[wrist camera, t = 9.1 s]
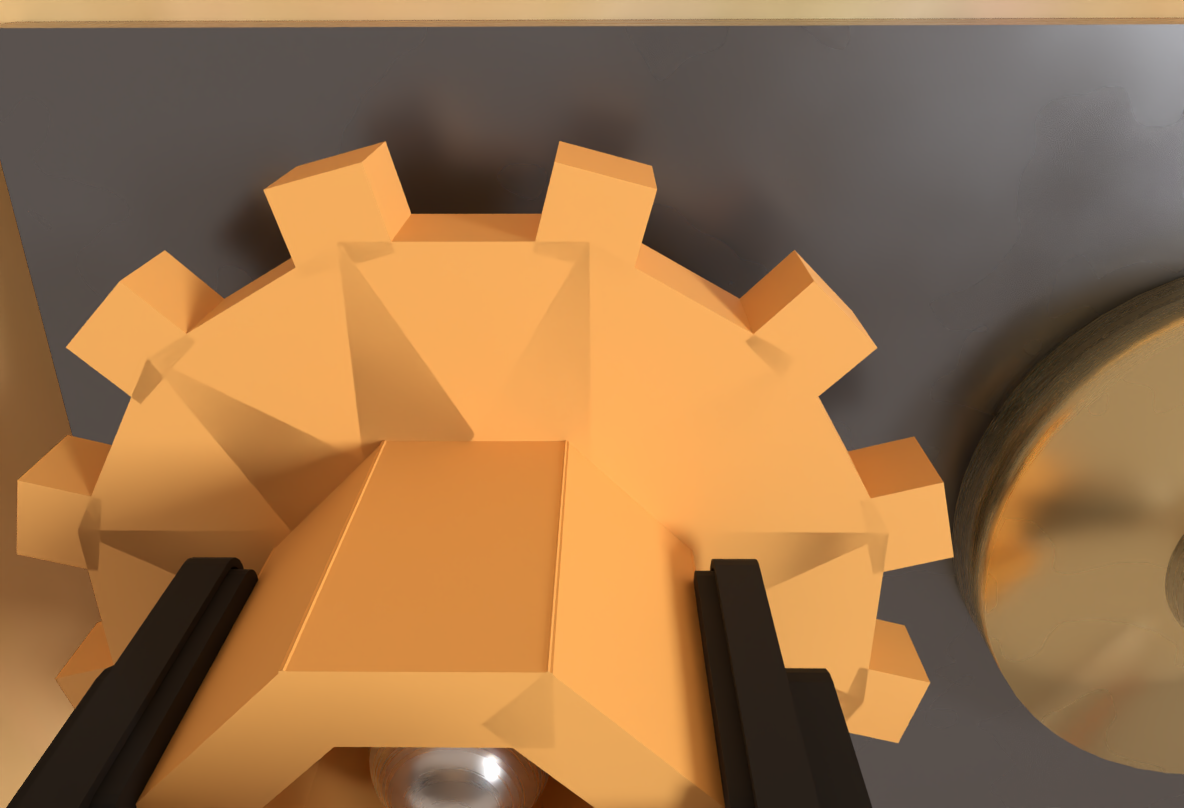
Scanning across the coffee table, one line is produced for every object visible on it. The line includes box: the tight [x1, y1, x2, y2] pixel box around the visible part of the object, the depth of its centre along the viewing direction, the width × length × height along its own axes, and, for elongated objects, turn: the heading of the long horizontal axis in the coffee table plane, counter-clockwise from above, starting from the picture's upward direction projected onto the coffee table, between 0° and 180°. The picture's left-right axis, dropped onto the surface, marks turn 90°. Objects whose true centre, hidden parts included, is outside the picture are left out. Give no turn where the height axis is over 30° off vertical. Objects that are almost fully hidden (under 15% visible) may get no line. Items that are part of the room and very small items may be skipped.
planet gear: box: [17, 141, 954, 808], centre depth 11 cm, size 12×12×5 cm
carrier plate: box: [0, 18, 1184, 808], centre depth 13 cm, size 24×14×7 cm, turn 90°
